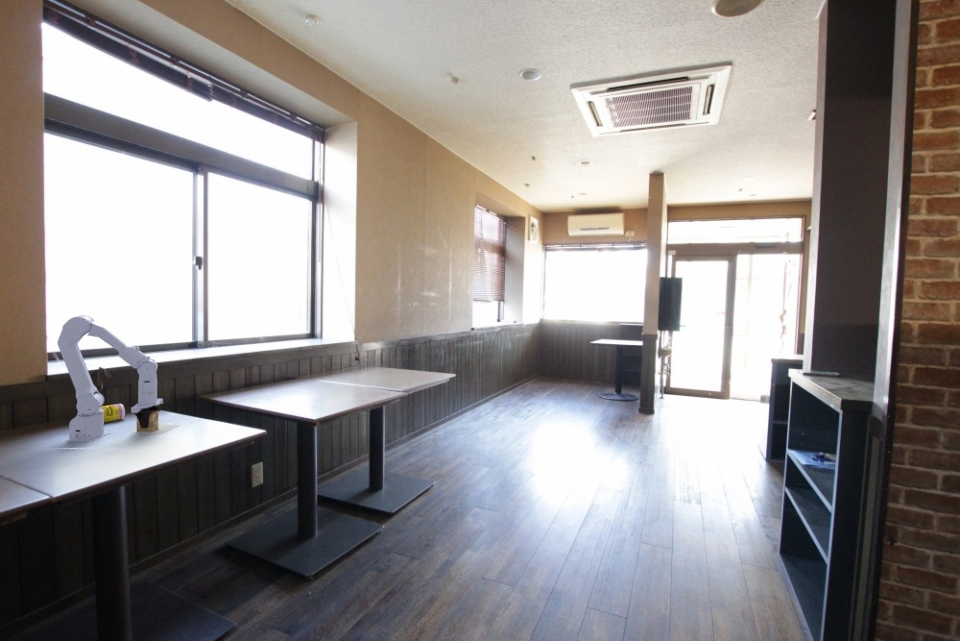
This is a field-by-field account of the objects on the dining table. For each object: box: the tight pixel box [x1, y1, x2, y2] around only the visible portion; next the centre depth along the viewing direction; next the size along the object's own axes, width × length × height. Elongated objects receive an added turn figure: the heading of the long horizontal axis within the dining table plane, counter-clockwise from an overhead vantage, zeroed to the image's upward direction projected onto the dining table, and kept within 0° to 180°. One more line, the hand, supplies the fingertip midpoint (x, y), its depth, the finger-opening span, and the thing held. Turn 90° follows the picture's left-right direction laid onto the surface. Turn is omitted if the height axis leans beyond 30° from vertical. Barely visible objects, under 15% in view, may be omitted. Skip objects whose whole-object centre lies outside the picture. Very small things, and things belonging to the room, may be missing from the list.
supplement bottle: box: [100, 403, 126, 424], centre depth 178 cm, size 7×7×13 cm
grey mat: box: [130, 423, 181, 435], centre depth 172 cm, size 12×11×1 cm
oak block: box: [136, 411, 159, 432], centre depth 170 cm, size 3×6×7 cm, turn 93°
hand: (147, 426), depth 170 cm, fingers closed on oak block, 3 cm apart
